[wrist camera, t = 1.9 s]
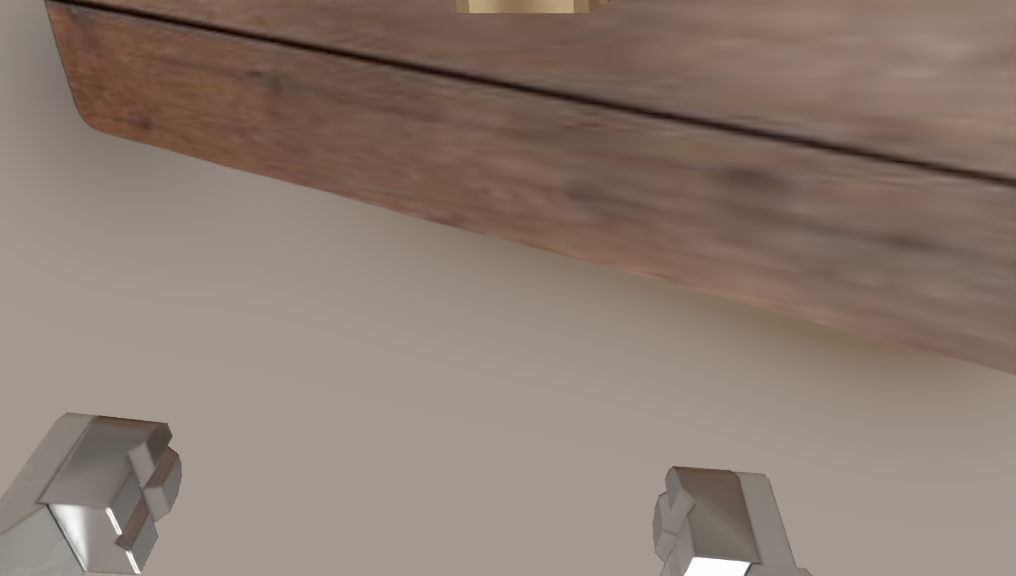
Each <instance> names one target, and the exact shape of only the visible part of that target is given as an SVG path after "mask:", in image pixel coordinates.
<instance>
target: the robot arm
mask: <svg viewBox="0 0 1016 576" xmlns="http://www.w3.org/2000/svg"><path fill="white" fill-rule="evenodd" d="M171 438H172V434H171V432H170V429H169V426H168V424H167V423H162V422H153V421H143V420H135V419H125V418H116V417H107V416H99V415H88V414H77V413H66V414H64V415H63V416H62V417H60V418H59V419H57V420H56V421H55V423H54V424H53V425H52V427H51V428H50V430H49V431H48V433H47V434H46V435H45V437H44V438H43V440H42V441H41V442H40V444H39V445H38V447H37V448H36V449H35V451H34V452H33V454H32V455H31V457H30V458H29V459H28V461H27V462H26V464H25V465H24V466H23V468H22V469H21V470H20V472H19V473H18V475H17V476H16V478H15V479H14V480H13V482H12V483H11V485H10V486H9V487H8V489H7V490H6V492H5V493H4V494H3V496H2V497H1V499H0V576H84V572H95V573H114V574H133V575H140V573H141V571H142V569H143V567H144V565H145V562H146V561H147V559H148V557H149V555H150V553H151V550H152V548H153V546H154V544H155V542H156V540H157V538H158V533H157V530H156V527H155V522H156V521H158V520H159V519H160V518H162V517H163V516H164V515H166V514H167V513H168V512H170V510H171V508H172V506H173V504H174V502H175V500H176V497H177V495H178V491H179V486H180V482H181V477H182V472H181V462H180V458H179V455H178V454H177V453H176V452H175V451H174V450H172V449H171V448H170V447H169V446H168V444H169V442H170V440H171ZM665 482H666V489H667V491H666V492H664V493H663V494H661V495H659V497H658V500H657V503H656V506H655V510H654V519H653V539H654V547H655V553H656V554H657V555H658V556H659V557H660V559H661V560H662V561H663V562H664V563H665V564H664V567H663V569H662V572H661V574H660V576H812V575H811V574H810V573H809V571H807V569H804V568H797V567H796V564H795V561H794V557H793V554H792V551H791V548H790V545H789V542H788V538H787V535H786V532H785V529H784V525H783V522H782V519H781V516H780V512H779V510H778V506H777V503H776V500H775V496H774V493H773V490H772V487H771V484H770V481H769V479H768V478H767V477H766V475H765V474H758V473H746V472H732V471H730V470H718V469H704V468H690V467H676V466H673V467H672V468H670V469H669V471H668V473H667V476H666V478H665Z"/></svg>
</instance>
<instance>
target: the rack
mask: <svg viewBox="0 0 1016 576" xmlns="http://www.w3.org/2000/svg"><path fill="white" fill-rule="evenodd" d="M608 1H610V0H455V2H456V11H457V13H574V12H575V13H589V12H590V11H592V10H594V9H596V8H597V7H599V6H601V5H603V4H604V3H606V2H608Z"/></svg>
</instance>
